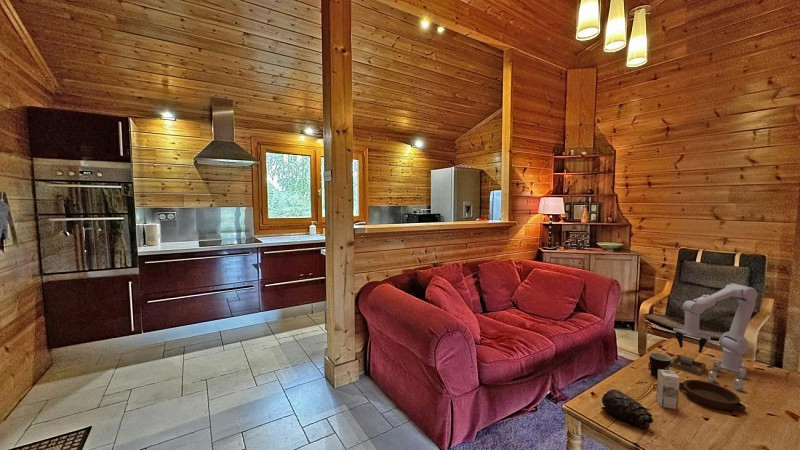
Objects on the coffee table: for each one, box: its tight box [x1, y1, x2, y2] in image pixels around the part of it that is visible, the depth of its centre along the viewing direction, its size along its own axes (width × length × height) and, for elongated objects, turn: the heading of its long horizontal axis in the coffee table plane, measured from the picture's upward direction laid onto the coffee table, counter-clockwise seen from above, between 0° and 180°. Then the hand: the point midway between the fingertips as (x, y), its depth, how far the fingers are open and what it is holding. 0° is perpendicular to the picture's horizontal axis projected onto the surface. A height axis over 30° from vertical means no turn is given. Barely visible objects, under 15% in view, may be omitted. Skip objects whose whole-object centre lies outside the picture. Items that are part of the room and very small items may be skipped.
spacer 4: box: [733, 377, 744, 393], centre depth 152 cm, size 3×3×5 cm
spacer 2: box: [712, 359, 722, 373], centre depth 169 cm, size 3×3×5 cm
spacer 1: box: [707, 369, 718, 384], centre depth 159 cm, size 3×3×5 cm
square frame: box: [669, 355, 707, 376], centre depth 172 cm, size 12×12×2 cm
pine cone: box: [601, 388, 654, 432], centre depth 132 cm, size 10×18×10 cm, turn 40°
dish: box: [679, 379, 747, 412], centre depth 144 cm, size 18×22×5 cm
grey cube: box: [679, 355, 695, 369], centre depth 172 cm, size 4×4×5 cm
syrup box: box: [655, 369, 680, 411], centre depth 141 cm, size 6×6×14 cm
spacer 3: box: [736, 366, 748, 381], centre depth 162 cm, size 3×3×5 cm
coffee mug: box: [648, 352, 672, 379], centre depth 164 cm, size 12×9×10 cm
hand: (690, 349), depth 171 cm, fingers open, 7 cm apart
